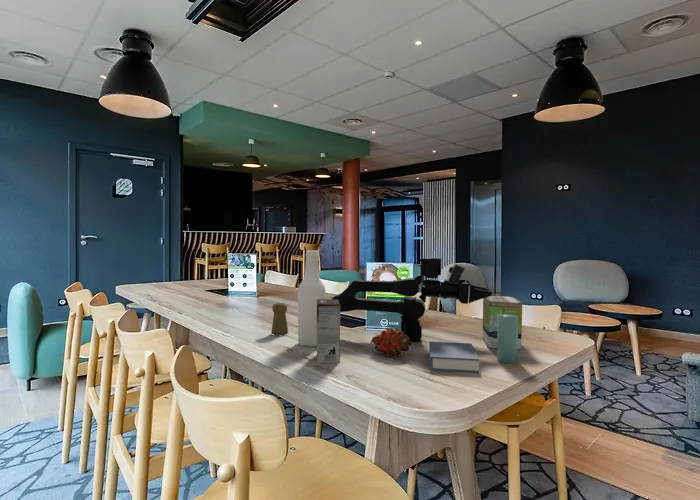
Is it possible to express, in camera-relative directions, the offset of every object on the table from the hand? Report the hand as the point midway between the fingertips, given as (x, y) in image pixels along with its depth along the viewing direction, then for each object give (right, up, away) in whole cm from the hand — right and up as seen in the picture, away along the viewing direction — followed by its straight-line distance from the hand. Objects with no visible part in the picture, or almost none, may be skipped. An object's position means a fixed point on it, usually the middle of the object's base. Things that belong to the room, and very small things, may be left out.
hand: (489, 292), depth 128 cm
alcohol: (-57, -17, 0) cm, 60 cm away
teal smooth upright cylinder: (-2, -17, -19) cm, 25 cm away
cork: (-70, -17, +13) cm, 73 cm away
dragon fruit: (-33, -17, -13) cm, 40 cm away
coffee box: (-51, -17, -17) cm, 57 cm away
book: (-17, -17, -20) cm, 31 cm away
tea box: (+4, -17, 0) cm, 17 cm away
